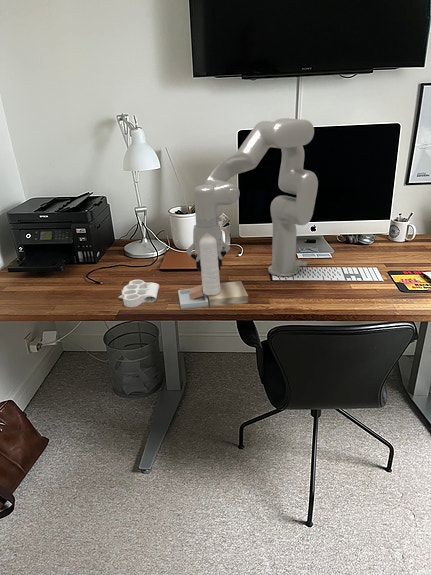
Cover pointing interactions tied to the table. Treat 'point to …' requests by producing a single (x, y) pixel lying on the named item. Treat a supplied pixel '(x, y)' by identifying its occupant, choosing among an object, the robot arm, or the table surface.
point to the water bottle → (209, 265)
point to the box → (188, 303)
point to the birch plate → (229, 295)
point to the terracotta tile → (196, 292)
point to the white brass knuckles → (139, 293)
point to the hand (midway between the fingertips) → (209, 268)
